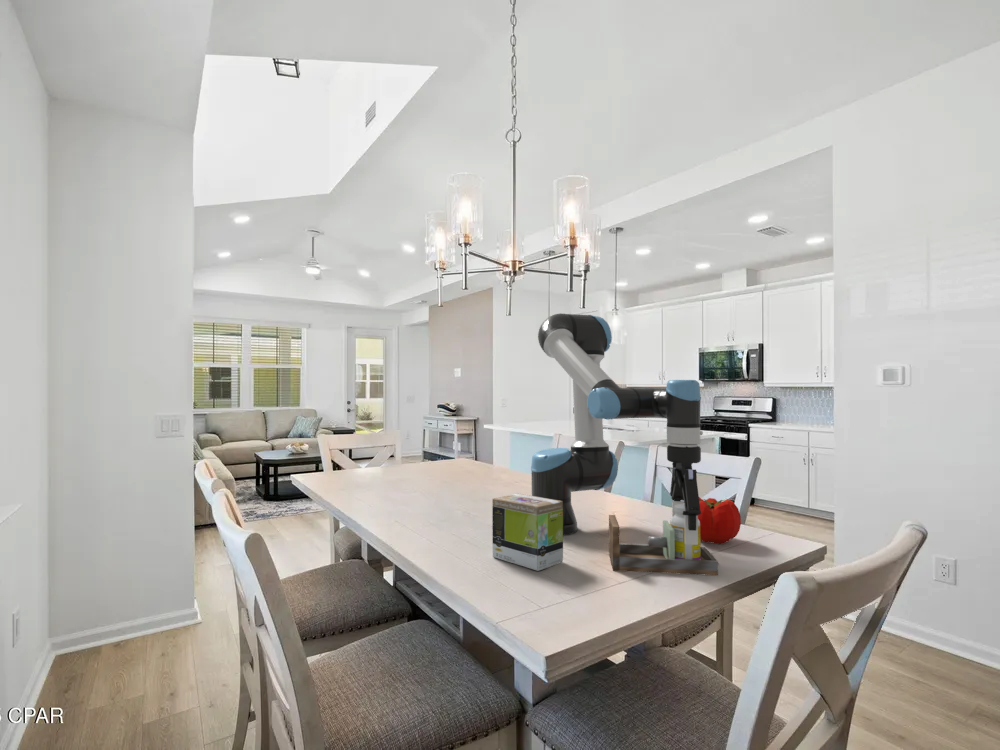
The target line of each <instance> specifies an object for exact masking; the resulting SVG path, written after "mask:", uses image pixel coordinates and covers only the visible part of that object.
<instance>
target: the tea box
mask: <svg viewBox="0 0 1000 750" xmlns="http://www.w3.org/2000/svg"><path fill="white" fill-rule="evenodd" d="M491 508H492V513H491V514H492V516H491V517H492V526H491V527H492V528H491V529H492V534H491V536H492V540H491V541H492V557H493V558H496V559H499V560H502V561H505V562H507V563H511V564H514V565H518V566H521V567H524V568H528V569H530V570H534V571H537V572H539V571H542V570H545V569H548V568H551V567H553V566H556V565H558V564H561V563H563V560H564V535H563V501H560V500H553V499H547V498H542V497H536V496H532V495H531V494H530V495H529V494H523V493H515V494H514V493H513V494H509V495H504V496H503V495H502V496H498V497H494V498H492V507H491Z"/></svg>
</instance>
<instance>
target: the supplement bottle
mask: <svg viewBox="0 0 1000 750" xmlns="http://www.w3.org/2000/svg"><path fill="white" fill-rule="evenodd" d="M674 511H675V516H673V517H672V516H671V518H670V522H669V524H670V525H671V526H672V528H673V529H674V530H675V559H689V560H701V547H702V546H701V540H700V521H699V519H698V545H689V544H685V528H684V515H683V514H682V513H683V511H685V505H684V504H678V505H675V506H674Z"/></svg>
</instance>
